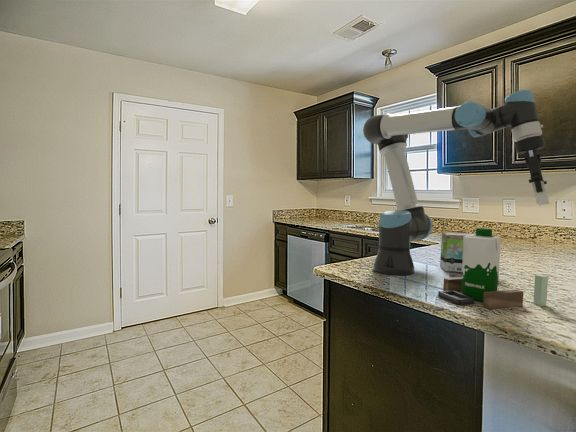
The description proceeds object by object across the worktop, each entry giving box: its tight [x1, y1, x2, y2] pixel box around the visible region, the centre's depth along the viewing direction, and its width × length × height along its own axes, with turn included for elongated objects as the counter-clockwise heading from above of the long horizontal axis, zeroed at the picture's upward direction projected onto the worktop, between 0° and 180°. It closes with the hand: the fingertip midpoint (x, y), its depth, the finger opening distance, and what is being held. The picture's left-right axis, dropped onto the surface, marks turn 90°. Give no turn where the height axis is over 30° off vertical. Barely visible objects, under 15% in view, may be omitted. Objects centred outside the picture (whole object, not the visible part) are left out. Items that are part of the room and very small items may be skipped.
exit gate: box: [532, 274, 549, 307], centre depth 98 cm, size 19×2×8 cm, turn 15°
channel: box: [442, 276, 524, 310], centre depth 95 cm, size 17×11×4 cm, turn 15°
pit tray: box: [437, 290, 475, 306], centre depth 93 cm, size 8×5×2 cm, turn 15°
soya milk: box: [461, 227, 501, 303], centre depth 94 cm, size 9×9×20 cm
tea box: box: [439, 231, 476, 273], centre depth 130 cm, size 15×10×15 cm, turn 76°
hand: (543, 204), depth 103 cm, fingers open, 13 cm apart
